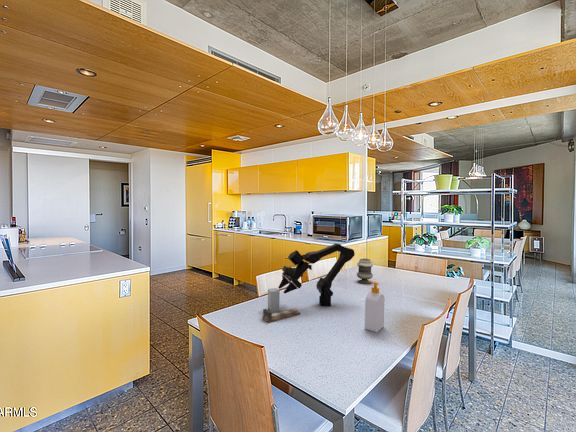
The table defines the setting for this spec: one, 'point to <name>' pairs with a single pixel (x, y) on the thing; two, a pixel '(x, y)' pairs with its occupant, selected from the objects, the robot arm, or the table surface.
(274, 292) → the block
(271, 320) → the rail board
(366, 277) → the stone urn vase
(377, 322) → the soap bottle
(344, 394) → the table surface
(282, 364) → the table surface
